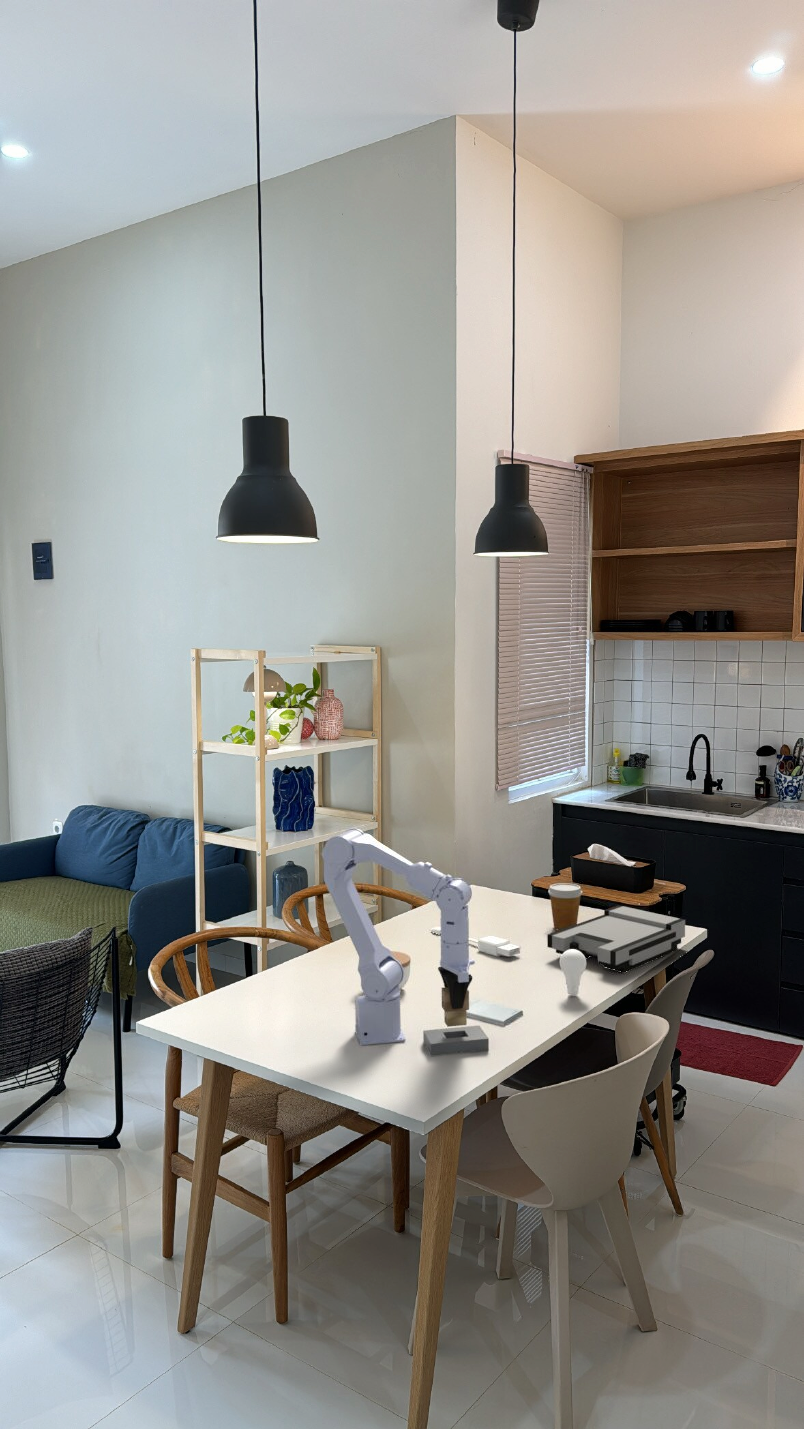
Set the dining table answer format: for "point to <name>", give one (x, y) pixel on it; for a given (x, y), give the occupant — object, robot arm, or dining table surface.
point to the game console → (621, 937)
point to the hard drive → (492, 1012)
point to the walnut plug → (454, 1010)
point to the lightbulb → (572, 969)
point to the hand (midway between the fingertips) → (455, 1005)
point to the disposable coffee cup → (564, 904)
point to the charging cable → (491, 945)
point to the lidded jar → (405, 963)
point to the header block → (455, 1040)
